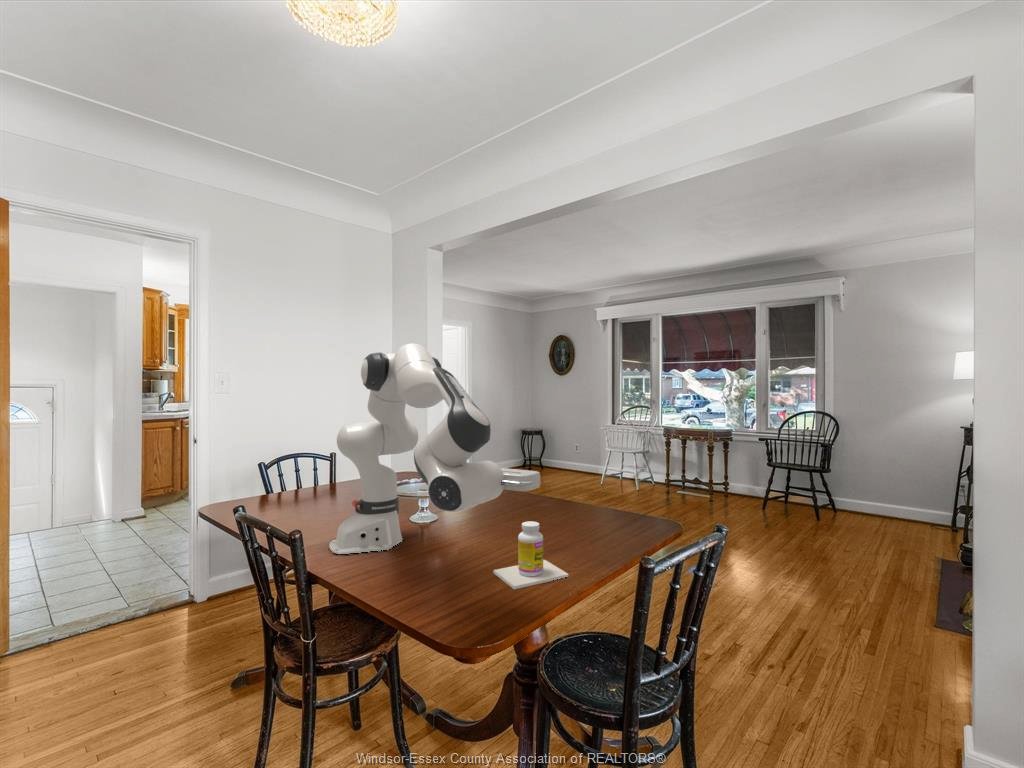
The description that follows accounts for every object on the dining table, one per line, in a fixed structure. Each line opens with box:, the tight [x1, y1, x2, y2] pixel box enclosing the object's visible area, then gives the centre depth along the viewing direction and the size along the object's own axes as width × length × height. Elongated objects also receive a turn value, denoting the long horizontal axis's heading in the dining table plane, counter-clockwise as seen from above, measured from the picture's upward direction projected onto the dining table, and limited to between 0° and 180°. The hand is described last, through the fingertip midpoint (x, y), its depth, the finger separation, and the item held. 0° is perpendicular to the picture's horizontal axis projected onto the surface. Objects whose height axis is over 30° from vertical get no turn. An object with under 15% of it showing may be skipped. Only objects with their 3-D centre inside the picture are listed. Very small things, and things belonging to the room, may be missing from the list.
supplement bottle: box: [517, 520, 544, 576], centre depth 130 cm, size 7×7×13 cm
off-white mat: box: [493, 559, 570, 590], centre depth 130 cm, size 16×12×1 cm
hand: (511, 472), depth 122 cm, fingers open, 8 cm apart
